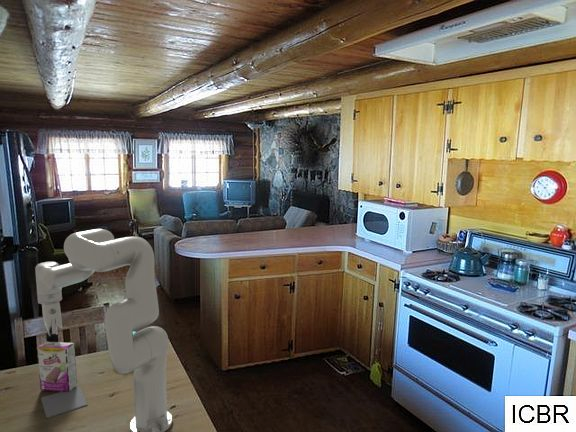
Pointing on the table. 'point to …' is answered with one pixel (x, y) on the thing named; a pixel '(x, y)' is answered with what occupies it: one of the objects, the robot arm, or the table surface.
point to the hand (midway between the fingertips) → (53, 344)
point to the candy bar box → (57, 366)
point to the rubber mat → (63, 402)
